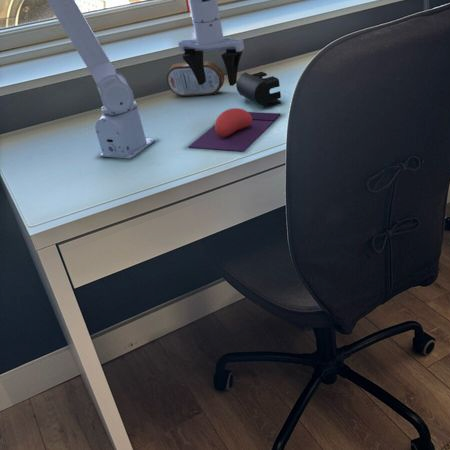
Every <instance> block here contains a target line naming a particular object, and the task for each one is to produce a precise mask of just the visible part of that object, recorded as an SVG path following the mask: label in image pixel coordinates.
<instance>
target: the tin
mask: <svg viewBox="0 0 450 450" xmlns="http://www.w3.org/2000/svg"><path fill="white" fill-rule="evenodd" d="M203 65H204V71H205V77H206V82H205V83H204V84H202V85H199V84H198V81H197V79H196V77H195V75H194V73H193V71H192V70H191V68H190V66H189V65H188V64H187V63H186V61H184V62H177V63H174V64H172V65H171V67H169V69H168V71H167V73H166V75H165V76H166V77H165V80H166V81H165V82H166V84H167V87H168V89H169V90H170V91H171V92H172V93H174V95H177V96H180V97H192V96H194V97H195V96H211V95H215V94H217V93H218V92H219V91H220V90H221V88H222V87H223V85H224V83H225V75H224V71H223V70H222V68H221V67H220V66H219V65H217V63H215V62H213V61H207V60H206V61H205V60H203Z"/></svg>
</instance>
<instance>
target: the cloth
mask: <svg viewBox="0 0 450 450" xmlns="http://www.w3.org/2000/svg"><path fill="white" fill-rule="evenodd" d="M247 112H248V113H250V115H251V116H252V123H251V125H250V126H248V127H246V128H243V129H240V130H237V131H235V132H234V133H232V134H231V135H229V136H227V137H221V136H219V135H218V134H217V133H216V130H215V124H214V125H212V126H211V128H209V129H207V131H205V133H203V134H202V135H200V136H199V137H198V138H197V139H196V140H195V141H193V142H192V143H191V144H190V145H189V146H188V149H200V150H201V149H202V150H214V151H215V150H216V151H227V152H241V153H244V152H245V151H246V150H247V149H248V148H249V147H250V146H251V145H252V144H253V143H254V142H255V141H256V140H257V139H259V137H260V136H261V135H263V133H265V132H266V130H267V129H269V127H271V125H272V124H274V123H275V122H276V121H277V120H278V119H279V118H280V117H281V116H282V113H278V112H257V111H247Z"/></svg>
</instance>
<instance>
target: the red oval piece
mask: <svg viewBox="0 0 450 450" xmlns="http://www.w3.org/2000/svg"><path fill="white" fill-rule="evenodd" d="M248 112H249V111H247V110H246V109H243V108H239V107H235V108H234V107H233V108H229V109H225V110H224V111H222V112H221V113H220V114H219V115H218V116H217V118H216V120H215V123H214V125H215V130H216V133H217V134H218V135H219V136H221V137H227V136H229V135H231V134H232V133H234V132H235V131H237V130H240V129H243V128H246V127H248V126H250V125H251V123H252V116H251V115H250V113H248Z"/></svg>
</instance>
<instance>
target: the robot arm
mask: <svg viewBox="0 0 450 450" xmlns="http://www.w3.org/2000/svg"><path fill="white" fill-rule="evenodd" d="M45 1H46V2H47V4H48V5H49V7H50V9H51V11H52V12H53V14H54V15H55V17H56V19H57V21H58V22H59V24H60V25H61V27H62V29H63V30H64V32H65V33H66V35H67V36H68V38H69V40H70V41H71V43H72V45H73V46H74V48H75V50H76V52H77V53H78V55H79V57H80V58H81V60H82V61H83V63H84V64H85V66H86V68H87V69H88V71H89V73H90V75H91V77H92V78H93V80H94V82H95V84H96V88H97V92H98V94H99V96H100V101H101V103H102V106H101V108H100V109H101V116H100V118H99V119H98V120H97V121H96V122H95V127H94V128H95V133H96V135H97V139H98V142H99V146H100V149H101V153H100V154H99V155H100V157H105V158H106V157H107V158H117V159H127V160H128V159H129V160H130V159H132V158H134V157H135V156H136V155H138V154H139V153H141V152H142V151H143V150H145V149H146V148H147V147H149V146H150V145H151V144H153V143H154V142H155V141H156V138H151V137H146V135H145V131H144V127H143V123H142V119H141V116H140V111H139V107H138V103H137V102H136V100H135V96H134V95H135V94H134V92H133V90H132V88H131V87H130V86H129V83H128V80H127V78H126V77H125V76H124V75H123V74H121V73H120V72H119V71H117V70H116V69H115V67H114V66H113V63H112V62H111V60H110V59H109V57H108V55H107V53H106V52H105V50H104V48H103V46H102V45H101V43H100V42H99V40H98V38H97V36H96V35H95V33H94V31H93V30H92V28H91V26H90V25H89V22H88V21H87V19H86V17H85V16H84V14H83V12H82V10H81V9H80V7H79V5H78V3H77V2H76V0H45ZM188 5H189V10H190V16H191V20H192V27H193V31H194V37H195V38H194V39H183V40H180V41H179V42H178V48H179V52H182V53H183V52H184V54H182V55H181V56H182V60H183V61H184V62H186V63H187V64H188V65H189V66H190V68H191V70H192V71H193V73H194V75H195V77H196V79H197V81H198V84H199V85H202V84H204V83H205V82H206V77H205V71H204V65H203V62H204V52H205V51H206V52H207V51H208V52H210V51H211V52H215V51H218V52H223V51H224V52H223V53H222V54H221V59H222V61H223V63H224V67H225V69H226V75H227V80H228V85H229V86H232V87H233V86H234V85H236V84H237V80H238V69H239V64H240V60H241V57H242V55H243V50H245V44H244V40H243V39H234V38H226V37H224V34H223V33H224V32H223V28H222V22H221V14H220V9H219V3H218V0H188Z"/></svg>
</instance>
